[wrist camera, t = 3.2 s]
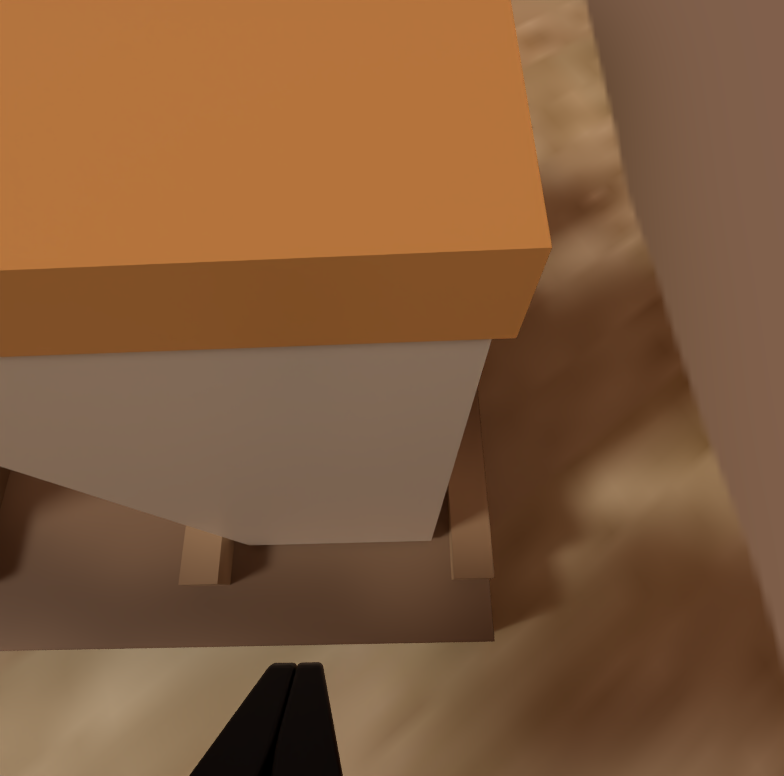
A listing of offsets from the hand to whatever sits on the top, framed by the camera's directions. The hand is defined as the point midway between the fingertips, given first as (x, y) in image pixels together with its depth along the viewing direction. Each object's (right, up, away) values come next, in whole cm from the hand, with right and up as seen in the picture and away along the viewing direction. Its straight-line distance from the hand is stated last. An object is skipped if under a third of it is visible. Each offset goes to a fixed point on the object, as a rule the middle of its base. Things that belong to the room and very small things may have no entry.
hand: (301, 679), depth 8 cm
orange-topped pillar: (0, +3, +7) cm, 7 cm away
